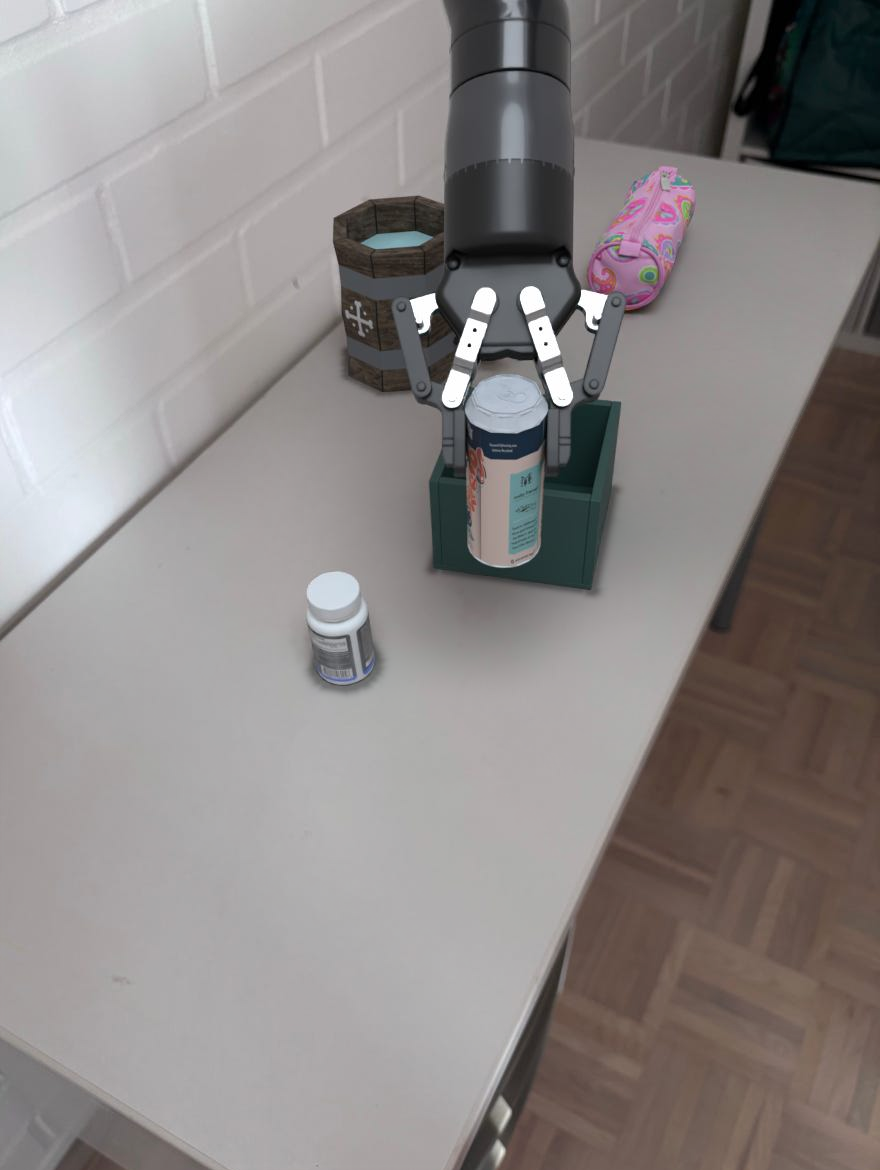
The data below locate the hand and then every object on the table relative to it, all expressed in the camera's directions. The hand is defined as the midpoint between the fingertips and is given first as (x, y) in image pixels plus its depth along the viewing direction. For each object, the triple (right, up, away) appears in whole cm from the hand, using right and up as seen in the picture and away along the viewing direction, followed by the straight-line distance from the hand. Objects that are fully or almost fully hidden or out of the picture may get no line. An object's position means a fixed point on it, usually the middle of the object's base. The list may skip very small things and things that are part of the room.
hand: (506, 474), depth 58 cm
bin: (+5, 0, +30) cm, 30 cm away
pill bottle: (-11, -12, +20) cm, 26 cm away
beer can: (+1, -4, +7) cm, 8 cm away
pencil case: (+22, +34, +60) cm, 72 cm away
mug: (-3, +21, +49) cm, 54 cm away
